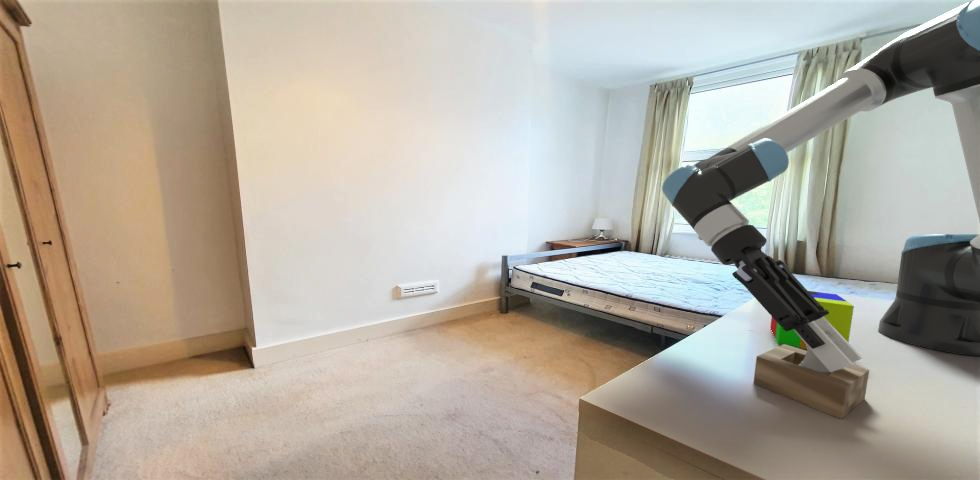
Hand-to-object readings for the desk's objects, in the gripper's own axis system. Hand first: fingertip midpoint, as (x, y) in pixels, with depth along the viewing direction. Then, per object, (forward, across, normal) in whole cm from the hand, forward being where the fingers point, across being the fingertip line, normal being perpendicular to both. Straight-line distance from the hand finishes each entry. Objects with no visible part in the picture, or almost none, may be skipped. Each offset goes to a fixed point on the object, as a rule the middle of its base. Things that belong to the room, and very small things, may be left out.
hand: (846, 364), depth 48 cm
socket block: (+2, 0, -7) cm, 7 cm away
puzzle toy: (-4, -25, -13) cm, 28 cm away
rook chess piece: (+1, -1, -5) cm, 6 cm away
